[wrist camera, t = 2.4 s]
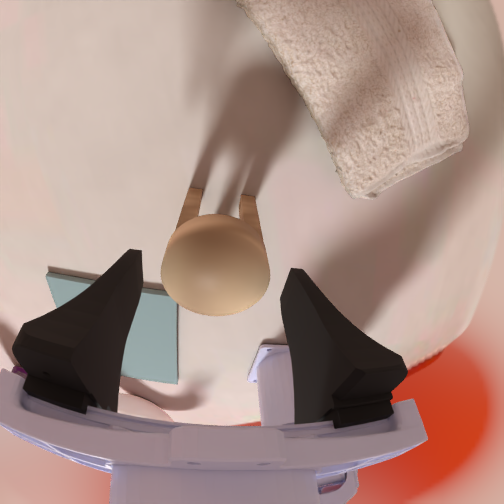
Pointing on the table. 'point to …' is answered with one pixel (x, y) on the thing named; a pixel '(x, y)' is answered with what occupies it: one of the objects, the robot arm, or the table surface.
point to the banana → (140, 408)
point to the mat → (137, 330)
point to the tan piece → (216, 259)
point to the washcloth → (371, 83)
